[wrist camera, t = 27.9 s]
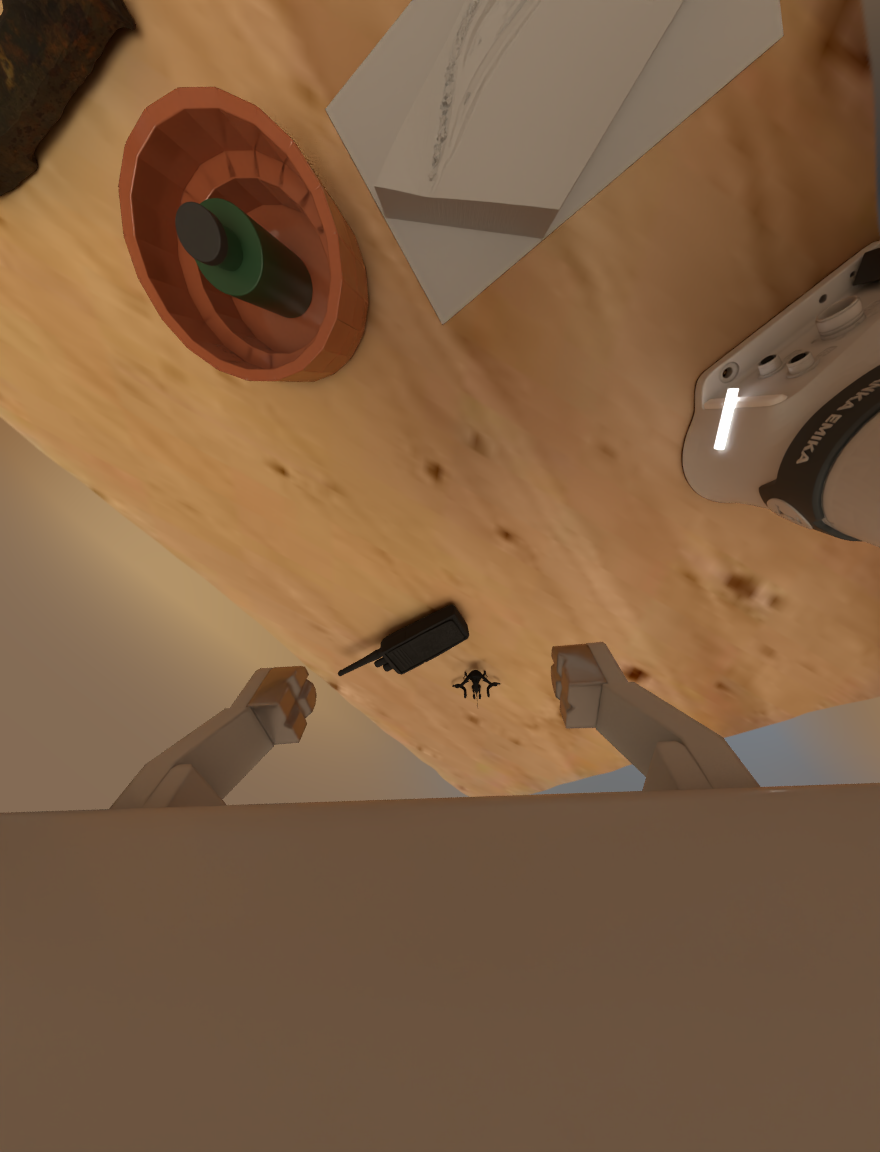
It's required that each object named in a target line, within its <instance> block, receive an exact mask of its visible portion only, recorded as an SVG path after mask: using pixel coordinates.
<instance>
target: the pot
mask: <svg viewBox="0 0 880 1152" xmlns="http://www.w3.org/2000/svg"><path fill="white" fill-rule="evenodd" d="M118 187H119V188H120V189H119V198H120V207H121V216H122V226H123V234H124V238H125V241H126V244H127V247H128V250H129V253H130V256H131V259H132V262H133V265H134V268H135V271H136V274H137V277H138V279H139V281H140V283H141V284H142V286H143V288H144V290H145V291H146V293H147V295H148V296H149V298H150V300H151V302H152V303H153V305H154V307H155V309H156V310H157V312H158V314H159V315H160V317H161V318H162V320H163V321H164V322H165V323H166V325H167V326H168V327H169V328H170V329H171V330H172V331H173V332H174V334H175V335H176V336H177V337H178V338H179V339H180V340H181V341H182V342H183V344H184V345H185V346H186V347H187V348H188V349H189V350H191V351H192V352H193V353H195V354H196V355H198V356H199V357H200V358H202V359H203V360H205V361H206V362H208V363H209V364H210V365H212V366H213V367H215V368H216V369H218V370H219V371H222V372H225V373H228V374H230V375H233V376H236V377H239V378H242V379H244V380H247V381H286V382H315V381H317V380H320V379H322V378H325V377H327V376H330V375H332V374H334V373H336V372H337V371H338V370H339V369H340V368H341V367H342V366H343V365H344V364H345V363H346V362H347V361H348V360H349V359H350V358H351V357H352V356H353V354H354V352H355V350H356V348H357V346H358V344H359V342H360V340H361V338H362V336H363V333H364V327H365V322H366V316H367V310H368V290H367V277H366V269H365V266H364V262H363V259H362V256H361V253H360V250H359V247H358V244H357V241H356V238H355V235H354V233H353V232H352V230H351V228H350V227H349V225H348V223H347V222H346V220H345V219H344V217H343V215H342V214H341V212H340V210H339V209H338V207H337V205H336V204H335V202H334V201H333V199H332V198H331V196H330V195H329V193H328V192H327V190H326V189H325V187H324V186H323V184H322V183H321V181H320V180H319V178H318V177H317V175H316V174H315V172H314V171H313V169H312V168H311V166H310V165H309V163H308V162H307V160H306V159H305V157H304V156H303V154H302V153H301V151H300V149H299V148H298V146H297V145H296V143H295V142H294V141H293V140H292V139H291V138H290V137H289V136H288V135H287V134H286V133H285V132H284V131H283V130H282V129H281V128H280V127H279V126H278V125H277V124H276V123H275V122H273V121H272V120H271V119H270V118H269V117H268V116H267V115H266V114H265V113H264V112H263V111H262V110H261V109H260V108H258V107H257V106H256V105H254V104H252V103H249V102H247V101H245V100H243V99H241V98H239V97H236V96H234V95H232V94H230V93H228V92H226V91H223V90H221V89H219V88H216V87H180V88H177V89H174V90H173V91H171V92H170V93H168V94H167V95H165V96H163V97H162V98H160V99H159V100H157V101H155V102H154V103H152V104H151V105H149V106H148V107H146V109H144V111H143V113H142V115H141V116H140V118H139V120H138V122H137V123H136V125H135V127H134V129H133V130H132V132H131V134H130V136H129V137H128V139H127V141H126V144H125V147H124V154H123V160H122V166H121V173H120V179H119V185H118ZM210 198H220V199H224V200H227V201H229V202H231V203H233V204H235V205H236V206H237V207H238V208H240V209H241V210H242V211H243V212H245V213H246V214H247V215H248V216H250V217H251V218H252V219H253V220H254V221H256V222H257V223H258V224H259V225H261V226H262V227H263V228H264V229H265V230H267V231H268V232H269V233H270V234H272V235H273V236H274V237H275V238H276V239H278V240H279V241H280V242H281V243H283V244H284V245H285V246H286V247H287V248H289V249H290V250H291V251H292V252H294V253H295V254H296V255H297V256H298V257H299V258H300V259H301V260H302V261H303V263H304V264H305V266H306V268H307V269H308V272H309V274H310V277H311V281H312V300H311V303H310V305H309V307H308V309H307V310H306V312H305V313H304V314H302V315H301V316H299V317H296V318H287V317H283V316H281V315H278V314H276V313H273V312H271V311H268V310H266V309H263V308H261V307H258V306H255V305H253V304H250V303H248V302H245V301H243V300H240V299H238V298H235V297H233V296H230V295H228V294H225V293H223V292H221V291H220V290H218V289H217V288H215V287H214V286H213V285H212V284H211V283H210V282H209V281H208V280H207V279H206V278H205V276H204V275H203V274H202V272H201V270H200V269H199V267H198V265H197V263H196V261H195V259H194V258H193V257H192V256H191V255H189V253H188V252H187V251H186V250H185V249H184V247H183V246H182V244H181V242H180V240H179V238H178V235H177V231H176V226H175V217H176V213H177V210H178V208H179V207H180V206H181V205H182V204H184V203H186V202H196V203H199V204H200V203H201V202H203V201H204V200H207V199H210Z"/></svg>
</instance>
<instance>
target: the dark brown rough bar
mask: <svg viewBox="0 0 880 1152" xmlns="http://www.w3.org/2000/svg"><path fill="white" fill-rule="evenodd" d="M2 3H3V12H2V14H1V16H0V196H1V195H3V194H4V193H6V192H8V191H10V190H12V189H14V188H15V187H16V186H18V184H19V183H20V182H21V181H22V180H23V179H25V178H26V177H27V176H29V175H30V174H31V173H33V172H34V171H35V170H36V169H37V168H38V167H37V162H36V159H35V157H34V155H33V154H34V151H35V149H36V147H37V146H38V144H39V142H40V141H41V140H42V139H43V138H44V137H45V135H46V134H47V133H48V131H49V130H50V129H51V127H52V126H53V125H54V124H55V123H56V122H57V120H59V119H60V117H61V115H62V112H63V110H64V107H65V105H66V104H67V102H68V101H69V100H70V98H71V97H72V95H73V94H74V92H75V91H76V89H77V88H78V87H79V86H81V85H82V84H83V82H84V81H85V78H86V77H87V76H88V75H89V74H90V73H91V72H92V69H93V66H94V64H95V61H96V59H98V58H99V57H100V56H101V54H102V51H103V49H104V47H105V45H106V44H107V42H108V41H109V39H110V38H111V36H112V35H113V34H114V33H115V31H116V30H117V29H119V28H121V27H126V28H129V29H131V30H135V29H136V24H135V22H134V20H133V18H132V16H131V15H130V13H129V11H128V10H127V8H126V6H125V5H124V3H123V1H122V0H2Z"/></svg>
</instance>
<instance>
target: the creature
mask: <svg viewBox="0 0 880 1152" xmlns="http://www.w3.org/2000/svg"><path fill="white" fill-rule="evenodd" d="M465 675H466V676H467V673H466V672H465ZM484 675H486V671H484V674H483V675H482V673H481V672H479V671H478V670H473V671H471V672H470V673H469V675H468V676H467V677H466V678H465V680H464V681H463V682H462V683H461V684H456V685H453V686H452V687H454V686H455V688H459V687H460V688H462V689H463V690H464V698H466V696H467V694H466V688H465V687H464V686H463V685H464V684H465V683H467V682H469V681H468V680H469V679H470V680H471V681H472V683H473V685H472V689H473V693H474V691H475V692H476V696H477V693H478V691H479V699H481V694H480V688H481V686H480V685H479V681H480V679H481V678H482V679H484V680H483V681H485V682H487V683H488V684H490V685H488V687H487V696H488V697H490V694H489V689H490V688H491V687H492V686H497V685H496V684H499V685H500V683H497V682H493V683H491V682H489V681H488V680H487V678H485V677H484ZM486 676H487V675H486ZM464 677H465V676H464ZM487 677H488V676H487ZM473 698H474V699H475V694H473ZM477 707H478V704H477Z"/></svg>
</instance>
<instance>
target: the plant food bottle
mask: <svg viewBox="0 0 880 1152" xmlns="http://www.w3.org/2000/svg"><path fill="white" fill-rule="evenodd" d="M175 226H176V231H177V235H178V238H179V240H180V242H181V244H182V246H183V247H184V249H185V250H186V251H187V252H188V253H189V255H191V256H192V257H193V258H194V259H195V261H196V263H197V265H198V267H199V269H200V270H201V272H202V274H203V275H204V276H205V278H206V279H207V280H208V281H209V282H210V283H211V284H212V285H213V286H214V287H215V288H217V289H218V290H220V291H221V292H223V293H225V294H228V295H230V296H233V297H235V298H238V299H240V300H243V301H245V302H248V303H250V304H253V305H255V306H258V307H261V308H263V309H266V310H268V311H271V312H273V313H276V314H278V315H281V316H283V317H287V318H296V317H299V316H301V315H302V314H304V313H305V312H306V310H307V309H308V307H309V305H310V303H311V300H312V281H311V277H310V274H309V272H308V269H307V268H306V266H305V264H304V263H303V261H302V260H301V259H300V258H299V257H298V256H297V255H296V254H295V253H294V252H292V251H291V250H290V249H289V248H287V247H286V246H285V245H284V244H283V243H281V242H280V241H279V240H278V239H276V238H275V237H274V236H273V235H272V234H270V233H269V232H268V231H267V230H265V229H264V228H263V227H262V226H261V225H259V224H258V223H257V222H256V221H254V220H253V219H252V218H251V217H250V216H248V215H247V214H246V213H245V212H243V211H242V210H241V209H240V208H238V207H237V206H236V205H235V204H233V203H231V202H229V201H227V200H224V199H220V198H210V199H207V200H204V201H203V202H201V203H200V204H199V203H196V202H186V203H184V204H182V205H181V206H180V207H179V208H178V210H177V213H176V217H175Z"/></svg>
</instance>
